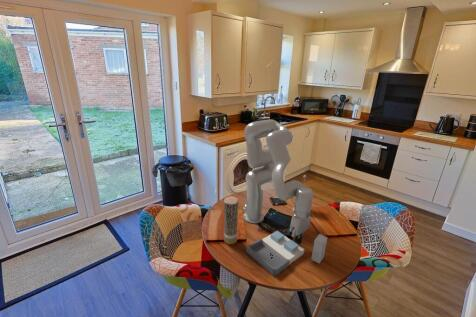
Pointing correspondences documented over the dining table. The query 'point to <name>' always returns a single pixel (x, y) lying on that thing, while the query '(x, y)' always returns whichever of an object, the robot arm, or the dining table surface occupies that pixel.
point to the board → (282, 249)
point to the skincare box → (319, 248)
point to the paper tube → (230, 219)
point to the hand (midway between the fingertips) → (297, 242)
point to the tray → (266, 258)
